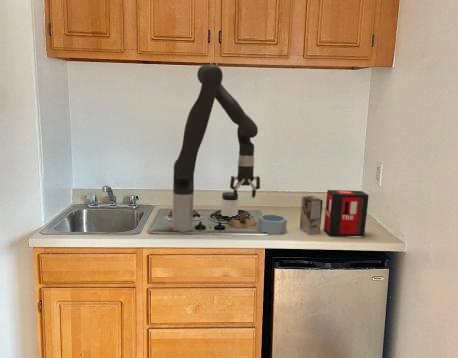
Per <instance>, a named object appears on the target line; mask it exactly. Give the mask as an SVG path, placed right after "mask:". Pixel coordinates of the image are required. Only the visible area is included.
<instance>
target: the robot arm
mask: <svg viewBox="0 0 458 358" xmlns="http://www.w3.org/2000/svg"><path fill="white" fill-rule="evenodd" d="M197 79H198V81H199V83H200V84H201V86H200V92H199V94H198V97H197V99H196V100H195V102H194V103H193V105H192V107H191V108H190V110H189V112H188V115H187V119H186V122H185V127H184V132H183V140H182V145H181V150H180V152H179V155H178V157H177V159H176V160H175V162H174V163H173V180H172V181H173V183H172V187H173V188H172V213H171V215H172V217H171V219H172V220H171V227H172V231H173V232H180V233H181V232H182V233H183V232H184V233H185V232H187V233H188V232H190V231H192V230H193V224H194V223H193V222H194V221H193V219H194V197H195V196H194V195H195V194H194V193H195V192H194V191H195V186H194V185H195V184H194V183H195V180H194V179H195V169H196V165H197V164H196V163H197V157H198V153H199V149H200V148H201V144H202V142H203V140H204V137H205V134H206V132H207V129H208V125H209V120H210V116H211V113H212V110H213V105H214V102H215V100H216V101H217V103H218V104H219V105H220V106H221V107H222V109H223V110H224V112H225V113H226V115H227V116H228V117H229V119H230V120H231V121H232V123H234V124H235V125H238V126H237V130H236V133H237V141H238V145H239V147H238V148H239V150H238V151H239V152H238V159H237V160H238V161H237V176H234V175H232V176H230V184H229V188H230V189H231V190H233V192H234V197H235V198H237V194H238V189H239V188H240V187H241V186H247V187H248V186H250V187H251V188H252V190H251V198H253V199H254V198H255V197H256V195H257V193H256V192H257V190H260V189H261V178H260V176H259V175H257V176H254V166H255V156H254V155H255V144H254V143H253V142H252V141H251V139H253V138H255V137H256V136H257V134H258V131H259V130H258V129H259V128H258V126H257V124H256V123H255V121H254V120H253V119H252V118H251V117H250V116H249V115H248V114H246V112H245V111H244V109H243V107H242V106H241V105H240V103H239V102H238V100H236V99H235V97H233V95H231V93H229V92H228V90H227V89H226V88H225V87H224V86H223V84H222V81H223V70H222V68H221V67H220V66H218V65H215V64H203V65H201V66H200V67H198V70H197ZM236 180H237V182H236ZM253 181H255V183H256V184H254V183H253ZM235 182H236V184H235Z"/></svg>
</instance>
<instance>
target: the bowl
mask: <svg viewBox="0 0 458 358" xmlns="http://www.w3.org/2000/svg"><path fill="white" fill-rule="evenodd" d="M287 222H288V219H287V218H286V217H284V215H278V214H274V213H273V214H269V213H268V214H262V215H260V216H259V217H258V230H259V229H260V230H261V231H264V232H266V233H265V234H267V233H268V234H267V235H283V234H285V233H286V232H287V224H288V223H287ZM260 230H259V231H260ZM261 231H260V232H261Z"/></svg>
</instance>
